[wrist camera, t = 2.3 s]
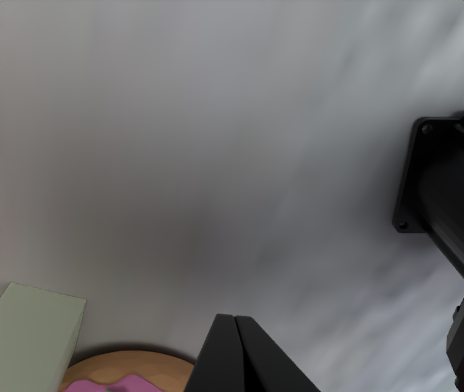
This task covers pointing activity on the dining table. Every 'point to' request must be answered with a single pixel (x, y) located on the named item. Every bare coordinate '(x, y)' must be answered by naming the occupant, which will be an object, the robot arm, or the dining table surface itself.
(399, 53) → the dining table surface
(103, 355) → the donut
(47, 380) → the sage block
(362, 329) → the dining table surface
